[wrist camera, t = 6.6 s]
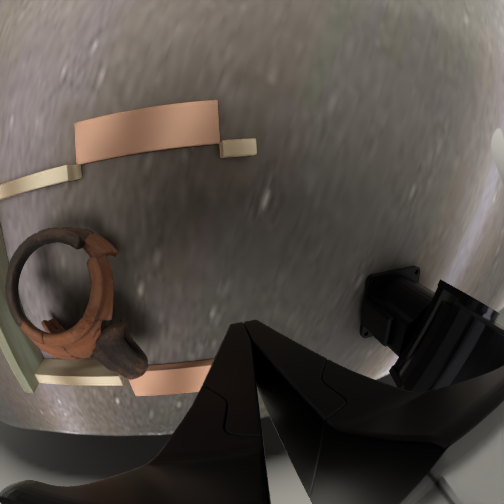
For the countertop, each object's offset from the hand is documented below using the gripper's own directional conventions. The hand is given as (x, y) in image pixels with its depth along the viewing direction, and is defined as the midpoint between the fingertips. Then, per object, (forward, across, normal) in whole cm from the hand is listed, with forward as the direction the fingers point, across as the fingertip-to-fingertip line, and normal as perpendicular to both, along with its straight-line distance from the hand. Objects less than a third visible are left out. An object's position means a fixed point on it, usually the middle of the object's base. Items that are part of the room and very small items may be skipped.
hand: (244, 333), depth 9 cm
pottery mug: (+12, +10, +3) cm, 16 cm away
